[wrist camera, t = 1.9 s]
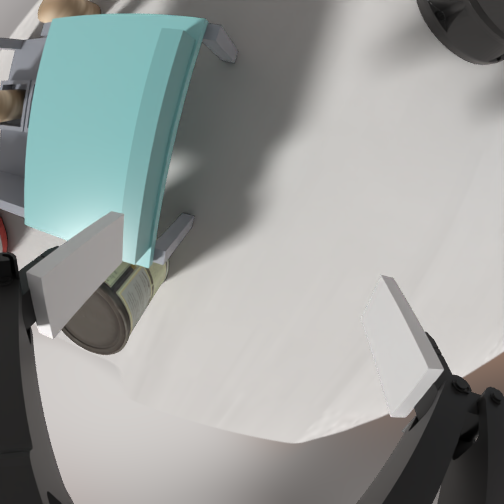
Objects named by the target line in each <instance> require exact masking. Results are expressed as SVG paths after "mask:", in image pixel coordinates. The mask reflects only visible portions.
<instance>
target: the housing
mask: <svg viewBox="0 0 504 504" xmlns="http://www.w3.org/2000/svg"><path fill="white" fill-rule="evenodd" d="M50 26H51V22H48V23H44V26H43V29H42V32H41V35H40V36H44V38H36V39H28V40H18V39H9V38H0V49H5V50H15V53H14V57H13V61H12V65H11V70H10V74H9V79H8V81H1V87H0V90H15V89H24V90H26V93H25V99H24V105H23V112H22V118H21V119H16V120H10V121H4V122H0V129H1V137H0V209H2V210H5V211H8V212H10V213H13V214H16V215H18V216H21V217H24V181H25V160H26V147H27V136H28V127H29V119H30V112H31V106H32V100H33V94H34V89H35V84H36V79H37V74H38V70H39V65H40V61H41V57H42V53H43V49H44V46H45V42H46V39H47V35H48V32H49V29H50ZM202 42H203V43H204V44H205V45H206V46H207V47H208V48H209V49H210V50H211V51H213V52H214V53H215V54H216V55H217V56H218V57H219V58H220V59H221V60H223V61H228V62H232V63H235V60H236V57H237V54H238V50H237V49H236V47H235V45H234V44H233V42H232V41H231V39H230V38H229V36H228V35H227V33H226V32H225V30H224V29H223V27H222V26H221V25H218V24H211V23H208V25H207V28H206V31H205V34H204V37H203V40H202ZM24 218H25V217H24ZM193 220H194V216H192V215H189V214H185V213H182V214H181V215H180V216H179V217H178V218H177V219H176V221H175V222H174V223H173V224H172V225H171V226H170V227H169V228H168V229H167V230H166V231H165V232H164V233H163V234H162V235H161V236H160V238H159V239H158V240H157V241H156V243H155V250H154V257H153V262H155V263H158V264H161V265H164V264H165V262H166V261H167V260H168V258H169V257H170V256H171V254H172V253H173V251H174V250H175V249H176V247H177V246H178V245H179V243H180V242H181V241H182V239H183V238H184V237H185V236H186V234H187V233H188V232H189V230H190V229H191V228H192V224H193Z"/></svg>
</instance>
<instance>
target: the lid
mask: <svg viewBox="0 0 504 504" xmlns="http://www.w3.org/2000/svg"><path fill="white" fill-rule="evenodd" d="M207 25H208V21H207V20H206V19H204V18H196V17H187V16H176V15H162V14H95V15H81V16H71V17H62V18H55V19H52V22H51V26H50V29H49V32H48V35H47V39H46V42H45V46H44V49H43V53H42V57H41V61H40V65H39V70H38V74H37V79H36V84H35V89H34V94H33V100H32V106H31V112H30V119H29V127H28V136H27V147H26V160H25V181H24V217H25V225H27V226H30V227H32V228H35V229H37V230H40V231H43V232H45V233H48V234H51V235H53V236H56V237H59V238H62V239H64V240H67V241H68V240H69V239H71V238H72V237H74V236H75V235H77V234H78V233H79V232H81V231H82V230H84V229H85V228H87V227H88V226H90V225H91V224H93V223H94V222H96V221H97V220H99V219H100V218H102V217H103V216H105V215H106V214H108V213H109V212H111V211H113V212H118V213H122V214H124V227H123V253H122V261H124V262H127V263H130V264H133V265H135V264H136V265H139V266H143V267H146V268H150V266H151V265H152V264H153V257H154V250H155V243H156V236H157V230H158V224H159V218H160V212H161V206H162V200H163V195H164V190H165V184H166V179H167V174H168V169H169V165H170V160H171V155H172V151H173V146H174V142H175V137H176V133H177V129H178V125H179V121H180V117H181V113H182V109H183V105H184V101H185V97H186V94H187V90H188V86H189V83H190V79H191V76H192V72H193V69H194V66H195V62H196V59H197V56H198V53H199V49H200V46H201V43H202V40H203V37H204V34H205V31H206V28H207Z"/></svg>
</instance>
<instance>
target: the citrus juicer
mask: <svg viewBox="0 0 504 504" xmlns="http://www.w3.org/2000/svg"><path fill="white" fill-rule="evenodd" d="M2 252H7V235H6V230H5V227H4V224H3V221H2V218H1V217H0V253H2Z"/></svg>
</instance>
